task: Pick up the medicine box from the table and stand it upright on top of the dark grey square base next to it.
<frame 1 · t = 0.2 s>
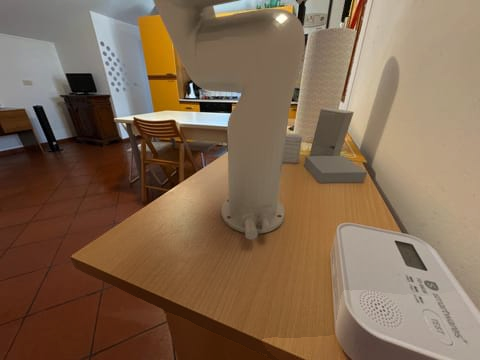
hand: (321, 23, 47), 36 cm above the table, tool pointing down, fingers open, 9 cm apart
grey base: (331, 172, 56), on the table
medicine box: (285, 161, 65), on the table
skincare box: (325, 156, 68), on the table
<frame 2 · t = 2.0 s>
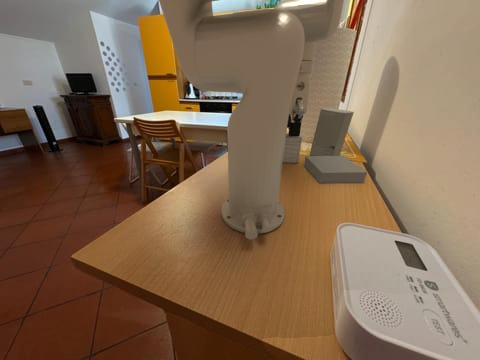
hand: (289, 131, 61), 9 cm above the table, tool pointing down, fingers open, 9 cm apart
nothing on the table moved.
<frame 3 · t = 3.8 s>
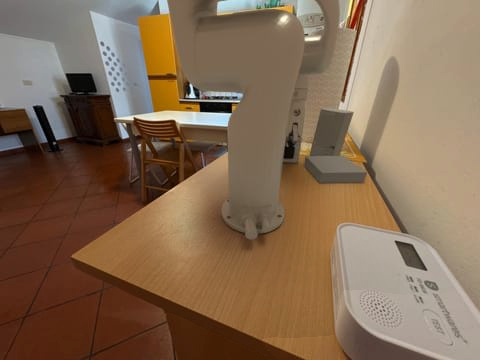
hand: (285, 154, 64), 2 cm above the table, tool pointing down, fingers closed on medicine box, 5 cm apart
medicine box: (285, 160, 65), on the table, touching gripper
everything else where it was.
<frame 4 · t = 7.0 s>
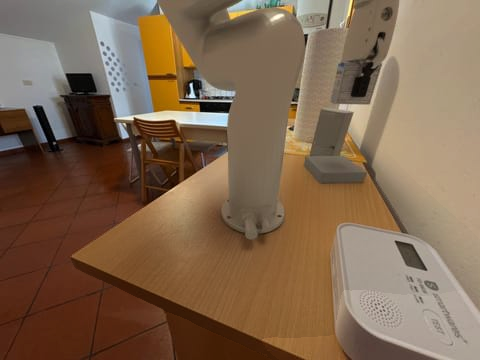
hand: (351, 95, 46), 21 cm above the table, tool pointing down, fingers closed on medicine box, 5 cm apart
medicine box: (348, 104, 47), point 19 cm above the table, touching gripper
everything else where it was.
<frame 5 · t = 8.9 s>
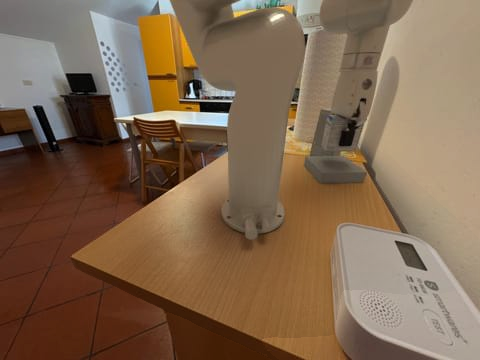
hand: (339, 142, 52), 9 cm above the table, tool pointing down, fingers closed on medicine box, 5 cm apart
medicine box: (337, 149, 53), point 7 cm above the table, touching gripper
everything else where it was.
when the fingers open (6 cm above the table, at t = 10.4 s): medicine box stays where it is, resting on grey base.
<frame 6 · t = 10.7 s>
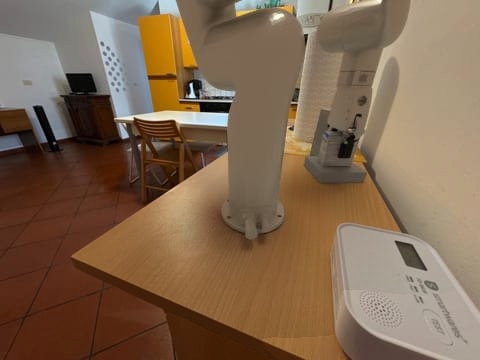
hand: (336, 152, 53), 6 cm above the table, tool pointing down, fingers open, 7 cm apart
medicine box: (333, 164, 55), point 3 cm above the table, touching grey base
everything else where it was.
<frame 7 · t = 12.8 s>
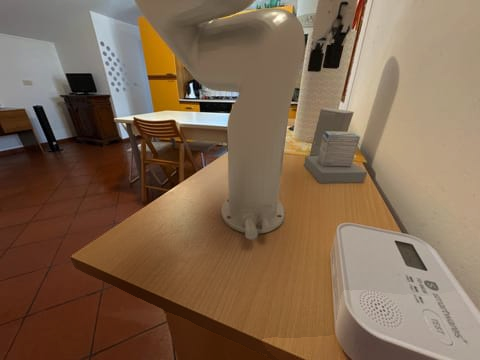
hand: (321, 70, 44), 26 cm above the table, tool pointing down, fingers open, 9 cm apart
nothing on the table moved.
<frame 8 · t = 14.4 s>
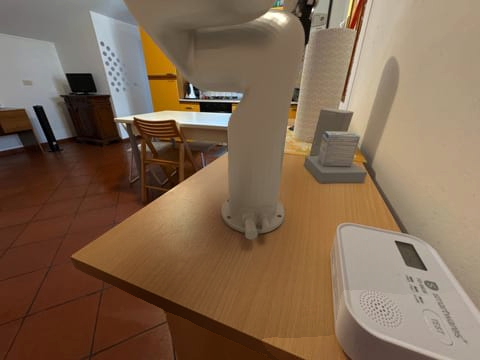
hand: (292, 47, 43), 30 cm above the table, tool pointing down, fingers open, 9 cm apart
nothing on the table moved.
at the end: medicine box inside the target area on the grey base (0.3 cm from its centre), point 2.8 cm above the grey base's base; medicine box tilted 0°; the gripper is holding nothing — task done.
